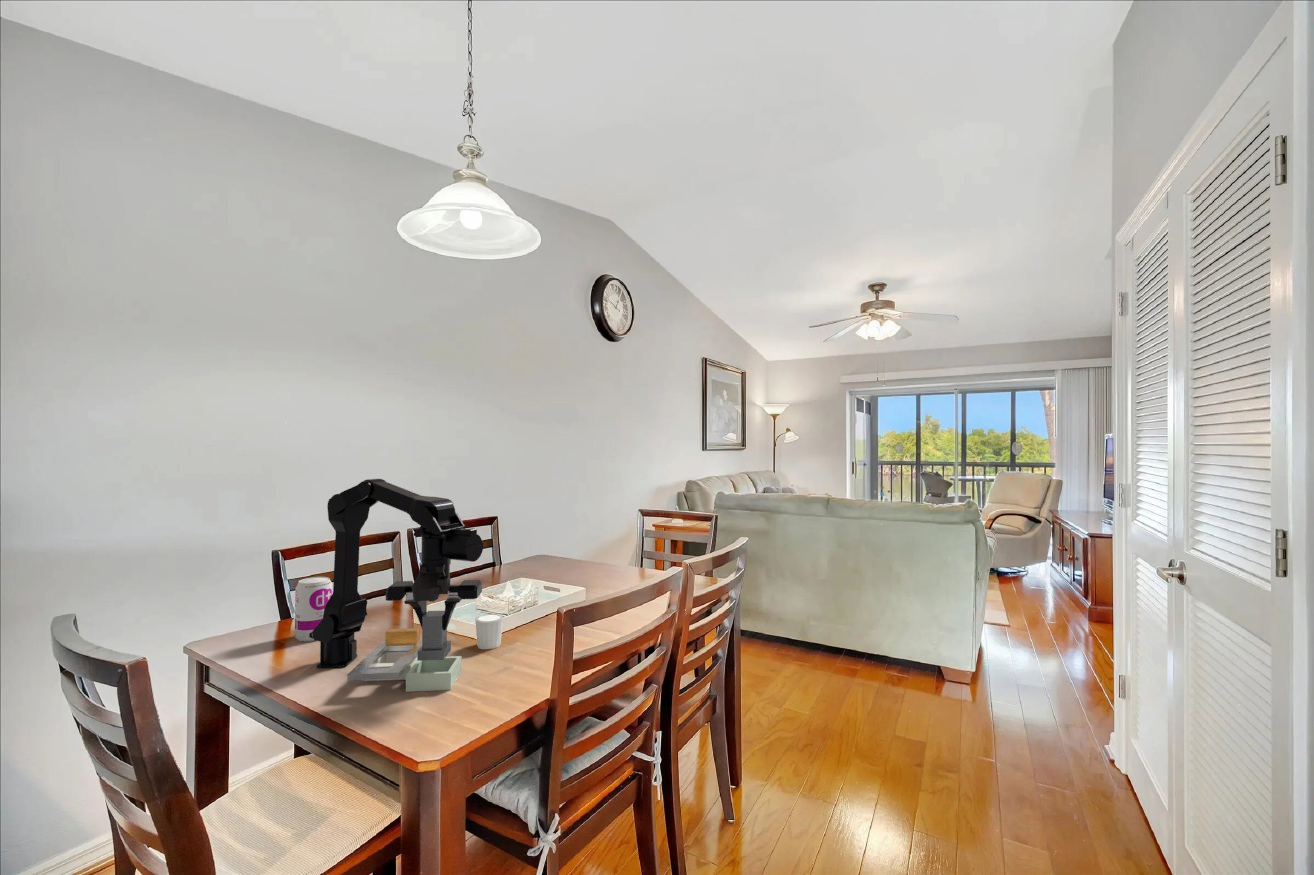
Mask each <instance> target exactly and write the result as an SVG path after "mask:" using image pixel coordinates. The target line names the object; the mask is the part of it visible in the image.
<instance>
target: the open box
mask: <svg viewBox="0 0 1314 875" xmlns="http://www.w3.org/2000/svg"><path fill="white" fill-rule="evenodd" d="M461 673H462V655H457V656H446V658H445V659H444V660H421V661H417V662H416V663H415V664H414V665H413V667H412V668H411V669H410V670H409V672H408V673H407V674H406V680H405V692H406V693H409V692H428V691H429V692H431V691H452V689H453V687H454V684H455V683H456V682H457V679H458V678H459V676H460V674H461Z"/></svg>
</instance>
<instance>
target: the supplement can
mask: <svg viewBox="0 0 1314 875" xmlns="http://www.w3.org/2000/svg"><path fill="white" fill-rule="evenodd" d="M294 590H295V591H294V592H295V593H294V594H295V595H294V598H295V599H294V601H295V603H294V604H295V607H294V608H295V609H294V611H295V612H294V638H295V639H296V640H297V641H298V642H302V641H304V642H307V643H309V642H314V641H315V640H314V637H313V633H312V631H313V630H314V629H315V628H316V627H317V625H318V624H319V623H320V622H321V621H322V620H323V614H324V608H325V606H326V604H327V602H328V601H329V599H330V597H331V596H332V594H333V583H332V581H331V578H330V577H327V576H313V577H307V578H303V579H300V580H298V583H297V585H296V586H295V589H294ZM304 642H303V643H304ZM315 642H316V641H315Z"/></svg>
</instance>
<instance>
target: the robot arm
mask: <svg viewBox="0 0 1314 875" xmlns="http://www.w3.org/2000/svg"><path fill="white" fill-rule="evenodd" d="M378 502H380V503H382V504H383V505H387V506H389V507H392V508H395V509H397V510H399V511H401V512H404V513H406V514H408V515H409V517H410V519H411V520H412V521H413V522H415V523H416V524H417V525H419V526H420V527H418V529H416V530H415V531H414V532H413V534H412V535H413V536H414V537H420V538H421V555H420V556H421V562H420V565H419V569H418V570H419V571H418V572H419V573H418V575H417V577H416V578H415V580H414V582H413V580H403V581H402V580H400V581H399V580H397V581H395V582H393V583H392V584H391V585H389V586H388V587H387V588H386V590H385V601H388V602H391V601H392V602H393V601H394V602H395V601H397V602H398V601H401V600H403V598H405V600H404V601H403V603H404V604H405V605H409V606H410V607H412V609H413V611H414V613H415V614H416V617H417V619H418V622H419V624H420V627H421V628H422V617H423V616H424V615H425V614H426V613H427V612H428V610H427V608H428V606H427V603H428V602H435V601H437V600H438V599H439V597H440V595H447V598H446V599H445V600H444V606H445V608H444V611H445V614H444V630H446V629H447V630H448V626H449V623H450V621H451V619H452V616H453V613H454V611H455V608H456V605H457V604H458V603H461V601H462V600H476V599H478V598H479V597H480V595H481V594H482V593H483V584H482V581H481V580H480V579H463V581H461V583H459V584H451V577H450V574H451V573H450V572H451V571H450V570H451V569H450V566H451V562H452V560H453V561H462V562H463V561H464V562H470V563H471V562H476V561H477V560H479V559H480V557H481V556H482V553H483V550H484V542H483V540H482V537H481V536H480V535H479V534H477V533H478V529H477V528H466V525H465V524H464V522H463V520H462V518H461V517H460V515H459V513H458V512H457V510H456V508H455V506H454V502H453V501H452V500H451V499H449V498H445V497H439V496H427V495H421V494H418V493H415V492H413V491H410V490H408V489H406V488H403V487H401V486H398V485H395V484H392V483H389V482H387V481H386V480H384V479H382V478H371V479H370V478H369V479H365V480H362V481H361V482H359V483H358V484H357V485H354V486H352V487H350V488H348V489H345V490H343V491H341V492H340V493H336V494H333V495H332V496H331V497H330V498H329V499H328V501H327V518H328V521H329V523H330V525H331V526H332V528H333V529H334V531H335V540H334V543H335V544H334V565H333V583H332V596H331V597H330V599H329V601H328V602H327V604H326V606H325V608H324V614H323V620H322V621H321V622H320V623H319V624H318V625H317V627H316V628H315V629H314V630H313V631H312V633H313V637H314V640H315V642H320V646H319V647H320V648H319V649H320V650H319V658H320V659H319V663H318V664H316V668H317V669H319V668H344V667H347V666H348V665H350V663H351V662H353V661H355V659H356V658H357V657H358V652H357V650H358V649H357V646H358V645H357V642H358V641H357V639H355V634H356V633H358V632H360V631H361V629H362V625H363V623H364V622H365V621H366V620H365V619H366V616H368V612H367V611H368V610H367V605H368V600H367V598H362V595H361V594H360V593H359V591H358V588H359V587H358V586H359V584H358V583H359V568H360V566H359V564H360V545H361V544H360V542H361V540H360V539H361V530H362V528H363V526H364V525H365V523H367V520H368V519H369V513H370V508H371V507H374V506H375V505H376V504H377V503H378Z"/></svg>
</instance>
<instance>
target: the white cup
mask: <svg viewBox="0 0 1314 875" xmlns="http://www.w3.org/2000/svg"><path fill="white" fill-rule="evenodd" d="M503 624H504V616H503V615H501V614H498V613H488V614H482V615H479V616H476V617H475V629H476V631H475V632H476V643H477V648H478V649H481V650H493V649H495V648H496V649H497V648H498V647H501V644H502V633H503Z"/></svg>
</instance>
